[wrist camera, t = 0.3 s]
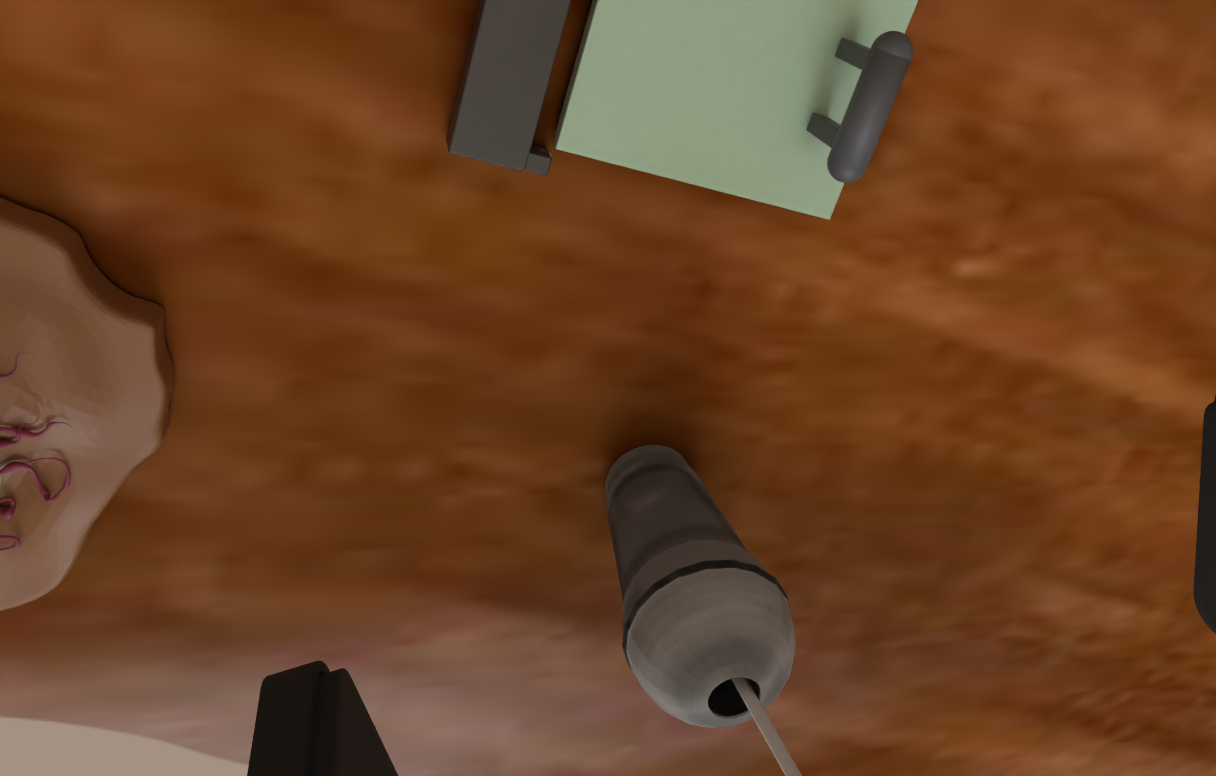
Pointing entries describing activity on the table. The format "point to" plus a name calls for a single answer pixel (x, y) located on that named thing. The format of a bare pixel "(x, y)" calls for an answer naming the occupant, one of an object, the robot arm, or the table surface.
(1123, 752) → the table surface
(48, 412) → the plant
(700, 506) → the beverage cup
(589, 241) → the table surface
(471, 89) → the sign foot
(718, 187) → the sign
